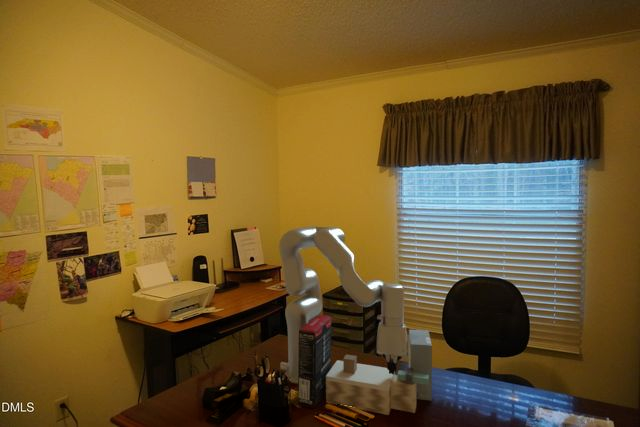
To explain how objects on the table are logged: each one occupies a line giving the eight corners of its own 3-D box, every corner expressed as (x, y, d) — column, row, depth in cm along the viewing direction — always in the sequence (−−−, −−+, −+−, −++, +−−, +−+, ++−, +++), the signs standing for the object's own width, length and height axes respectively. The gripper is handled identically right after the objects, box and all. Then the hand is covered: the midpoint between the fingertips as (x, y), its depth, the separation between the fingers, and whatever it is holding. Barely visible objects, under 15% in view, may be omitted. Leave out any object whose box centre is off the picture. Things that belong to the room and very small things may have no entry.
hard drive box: (432, 401, 127) (432, 346, 127) (409, 399, 129) (409, 344, 128) (428, 379, 143) (428, 329, 142) (408, 377, 144) (408, 328, 143)
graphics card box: (315, 382, 141) (315, 313, 140) (332, 385, 139) (332, 315, 138) (297, 406, 125) (296, 329, 124) (316, 410, 123) (315, 331, 122)
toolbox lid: (325, 380, 127) (325, 362, 127) (337, 364, 139) (337, 347, 139) (388, 391, 120) (388, 372, 119) (394, 373, 132) (394, 355, 131)
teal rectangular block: (397, 379, 123) (397, 374, 123) (398, 375, 126) (398, 370, 126) (427, 384, 120) (427, 379, 120) (428, 380, 123) (428, 374, 123)
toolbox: (326, 402, 128) (325, 367, 127) (337, 384, 140) (337, 352, 139) (413, 419, 117) (413, 381, 117) (417, 398, 129) (417, 363, 129)
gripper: (368, 321, 124) (368, 373, 125) (413, 326, 118) (412, 381, 119) (373, 314, 131) (372, 363, 132) (416, 319, 125) (415, 371, 126)
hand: (391, 372), depth 126 cm, fingers closed
